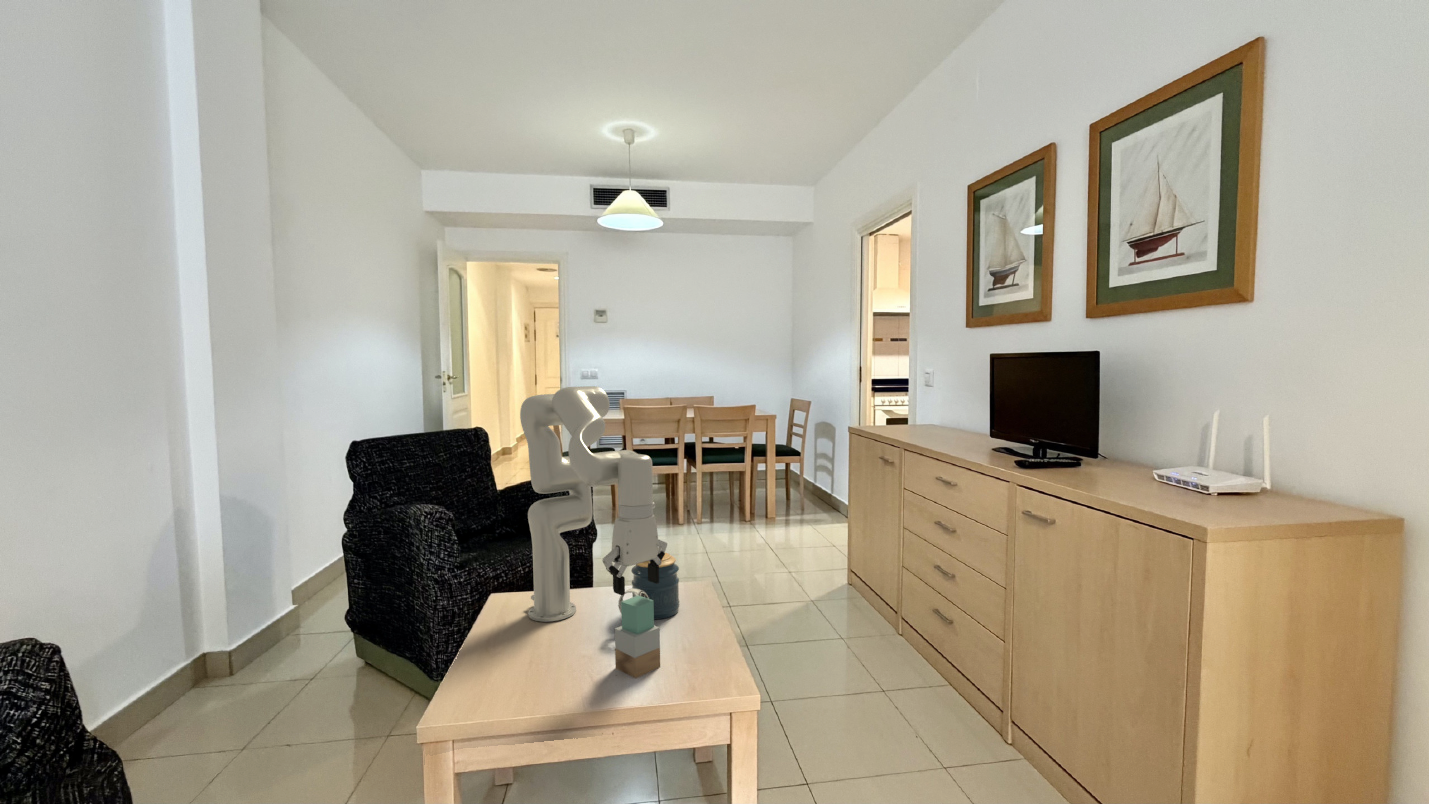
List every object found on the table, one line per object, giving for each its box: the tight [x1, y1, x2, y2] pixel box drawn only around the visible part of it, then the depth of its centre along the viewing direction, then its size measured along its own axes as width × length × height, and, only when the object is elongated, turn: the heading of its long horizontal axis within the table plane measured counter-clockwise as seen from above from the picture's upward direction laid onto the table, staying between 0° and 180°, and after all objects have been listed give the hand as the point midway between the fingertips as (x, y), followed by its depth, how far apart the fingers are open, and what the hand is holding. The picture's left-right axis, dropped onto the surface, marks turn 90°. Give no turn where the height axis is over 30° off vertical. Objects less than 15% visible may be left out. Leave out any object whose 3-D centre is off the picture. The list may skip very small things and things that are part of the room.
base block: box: [614, 647, 661, 679], centre depth 136 cm, size 7×7×4 cm
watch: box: [617, 587, 649, 615], centre depth 154 cm, size 6×8×11 cm
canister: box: [630, 552, 680, 620], centre depth 168 cm, size 13×13×18 cm
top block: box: [614, 624, 661, 658], centre depth 136 cm, size 7×7×4 cm
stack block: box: [621, 596, 655, 634], centre depth 136 cm, size 5×5×6 cm
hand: (636, 587), depth 136 cm, fingers open, 9 cm apart
